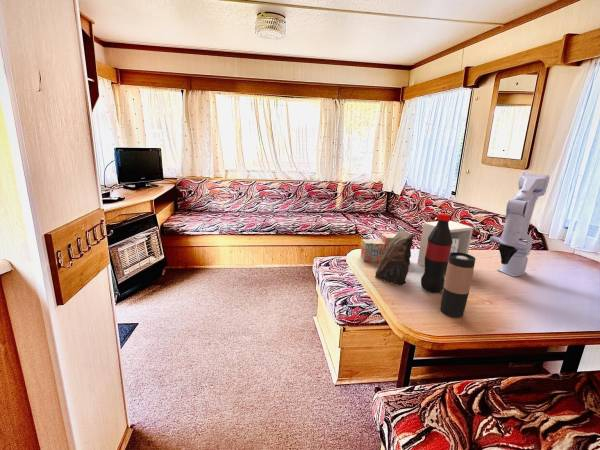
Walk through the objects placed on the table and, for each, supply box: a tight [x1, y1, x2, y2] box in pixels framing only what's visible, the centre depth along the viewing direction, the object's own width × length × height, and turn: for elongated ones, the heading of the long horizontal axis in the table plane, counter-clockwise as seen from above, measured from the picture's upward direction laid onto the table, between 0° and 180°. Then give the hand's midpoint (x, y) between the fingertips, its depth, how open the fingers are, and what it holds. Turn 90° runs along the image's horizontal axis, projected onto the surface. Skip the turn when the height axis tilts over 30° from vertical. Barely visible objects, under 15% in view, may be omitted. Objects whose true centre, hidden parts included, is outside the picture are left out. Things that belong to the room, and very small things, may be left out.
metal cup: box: [450, 235, 459, 253], centre depth 142 cm, size 7×7×15 cm
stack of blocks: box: [360, 233, 397, 263], centre depth 149 cm, size 21×6×12 cm, turn 93°
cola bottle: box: [420, 212, 453, 294], centre depth 119 cm, size 8×8×30 cm
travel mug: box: [439, 252, 476, 319], centre depth 104 cm, size 8×8×20 cm
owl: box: [374, 228, 415, 286], centre depth 128 cm, size 13×13×20 cm
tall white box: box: [417, 220, 474, 268], centre depth 144 cm, size 16×12×20 cm
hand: (504, 263), depth 126 cm, fingers closed
